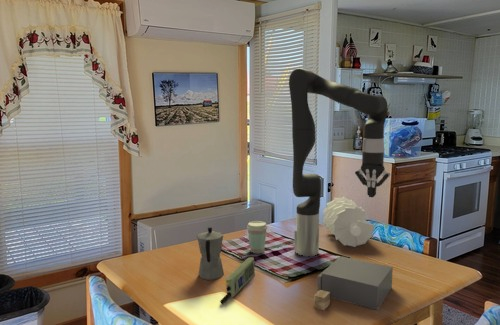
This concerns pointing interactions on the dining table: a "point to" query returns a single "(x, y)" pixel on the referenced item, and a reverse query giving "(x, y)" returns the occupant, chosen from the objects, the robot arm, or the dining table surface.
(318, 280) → the tray
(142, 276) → the dining table surface
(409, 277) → the dining table surface
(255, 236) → the coffee cup
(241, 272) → the handheld radio
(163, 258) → the dining table surface
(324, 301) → the pedestal
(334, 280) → the block
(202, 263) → the coffeepot
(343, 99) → the robot arm
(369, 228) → the spiral staircase
